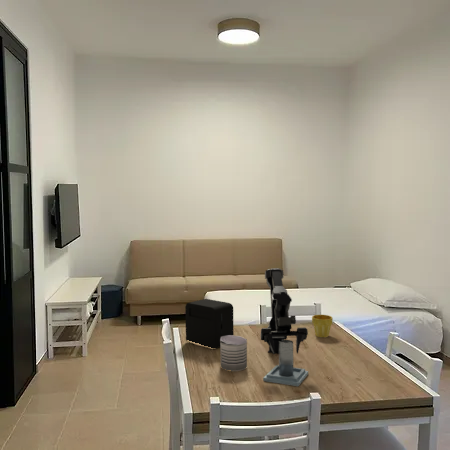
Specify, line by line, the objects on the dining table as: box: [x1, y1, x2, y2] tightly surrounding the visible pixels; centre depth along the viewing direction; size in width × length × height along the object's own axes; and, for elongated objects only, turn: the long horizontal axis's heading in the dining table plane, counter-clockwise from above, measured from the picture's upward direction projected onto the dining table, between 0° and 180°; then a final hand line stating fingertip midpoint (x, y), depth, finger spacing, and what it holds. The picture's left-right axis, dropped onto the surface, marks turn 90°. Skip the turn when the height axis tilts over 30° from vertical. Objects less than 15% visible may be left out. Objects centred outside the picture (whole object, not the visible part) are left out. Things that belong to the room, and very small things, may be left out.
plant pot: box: [311, 314, 334, 338], centre depth 248 cm, size 10×10×10 cm
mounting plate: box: [262, 364, 309, 387], centre depth 191 cm, size 14×14×2 cm
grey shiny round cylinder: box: [278, 339, 294, 377], centre depth 191 cm, size 6×6×13 cm
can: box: [219, 335, 248, 372], centre depth 204 cm, size 11×11×12 cm
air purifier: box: [184, 298, 235, 349], centre depth 237 cm, size 20×15×20 cm
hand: (285, 353), depth 191 cm, fingers open, 9 cm apart
